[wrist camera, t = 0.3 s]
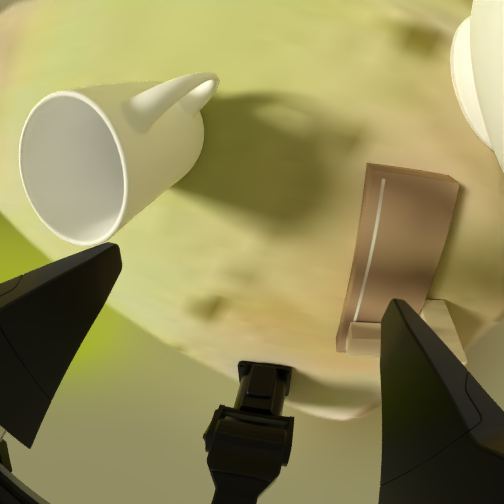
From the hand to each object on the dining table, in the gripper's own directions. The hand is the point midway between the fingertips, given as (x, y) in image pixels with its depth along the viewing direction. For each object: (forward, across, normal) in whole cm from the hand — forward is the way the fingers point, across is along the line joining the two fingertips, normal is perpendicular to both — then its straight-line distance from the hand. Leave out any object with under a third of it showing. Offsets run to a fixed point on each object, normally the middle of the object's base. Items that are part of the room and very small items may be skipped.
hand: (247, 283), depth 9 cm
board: (+14, -10, +7) cm, 19 cm away
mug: (+14, +9, -3) cm, 17 cm away
